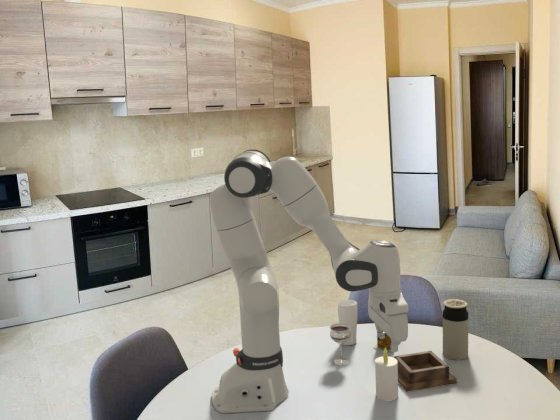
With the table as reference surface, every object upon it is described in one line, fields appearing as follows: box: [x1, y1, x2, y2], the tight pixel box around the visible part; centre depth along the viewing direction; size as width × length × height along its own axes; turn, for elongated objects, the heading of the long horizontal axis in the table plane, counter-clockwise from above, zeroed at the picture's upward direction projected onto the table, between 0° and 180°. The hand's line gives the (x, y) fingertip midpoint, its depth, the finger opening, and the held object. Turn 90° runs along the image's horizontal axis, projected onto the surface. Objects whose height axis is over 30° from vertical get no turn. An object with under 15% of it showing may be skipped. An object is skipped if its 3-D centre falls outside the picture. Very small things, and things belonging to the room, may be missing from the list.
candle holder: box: [393, 350, 458, 392], centre depth 164 cm, size 16×14×5 cm
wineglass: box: [329, 322, 351, 366], centre depth 176 cm, size 7×7×12 cm
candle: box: [374, 348, 399, 402], centre depth 154 cm, size 6×6×15 cm
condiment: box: [373, 333, 392, 352], centre depth 186 cm, size 7×8×12 cm
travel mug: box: [442, 298, 469, 361], centre depth 176 cm, size 8×8×18 cm
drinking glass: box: [337, 299, 358, 346], centre depth 190 cm, size 7×7×15 cm
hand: (387, 344), depth 152 cm, fingers open, 8 cm apart
